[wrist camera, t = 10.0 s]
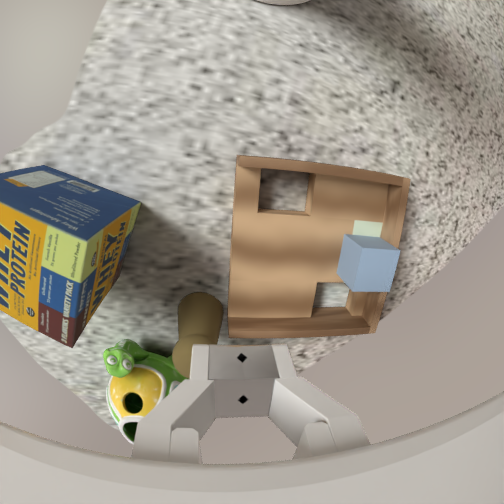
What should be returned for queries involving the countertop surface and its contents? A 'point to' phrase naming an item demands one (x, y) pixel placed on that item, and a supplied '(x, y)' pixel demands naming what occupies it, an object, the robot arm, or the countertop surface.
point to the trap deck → (306, 249)
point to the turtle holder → (137, 383)
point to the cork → (196, 327)
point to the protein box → (59, 248)
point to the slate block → (367, 263)
